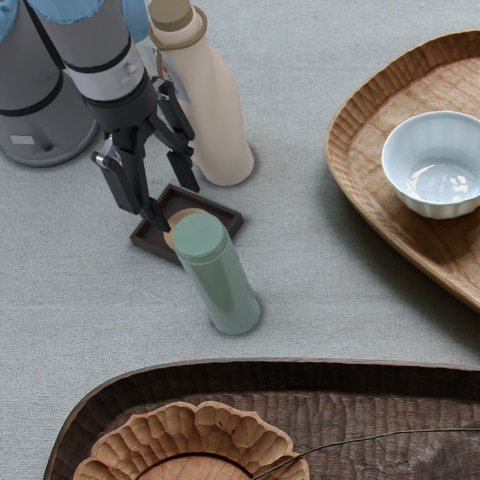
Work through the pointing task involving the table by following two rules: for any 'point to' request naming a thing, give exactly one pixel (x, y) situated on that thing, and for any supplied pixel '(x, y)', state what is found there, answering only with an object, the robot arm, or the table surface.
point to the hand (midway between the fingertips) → (176, 207)
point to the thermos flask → (216, 272)
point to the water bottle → (200, 89)
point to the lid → (173, 223)
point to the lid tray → (170, 204)
